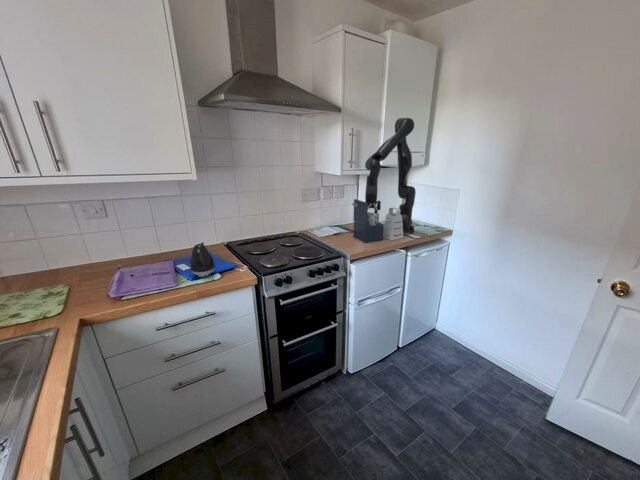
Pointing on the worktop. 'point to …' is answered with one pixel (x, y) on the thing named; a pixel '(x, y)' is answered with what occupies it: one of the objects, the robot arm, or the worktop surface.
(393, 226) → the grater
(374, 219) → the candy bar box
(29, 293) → the worktop surface
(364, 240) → the bin
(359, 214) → the bin lid
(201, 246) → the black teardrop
